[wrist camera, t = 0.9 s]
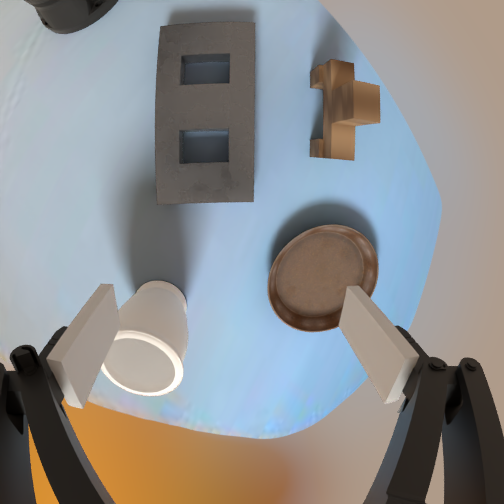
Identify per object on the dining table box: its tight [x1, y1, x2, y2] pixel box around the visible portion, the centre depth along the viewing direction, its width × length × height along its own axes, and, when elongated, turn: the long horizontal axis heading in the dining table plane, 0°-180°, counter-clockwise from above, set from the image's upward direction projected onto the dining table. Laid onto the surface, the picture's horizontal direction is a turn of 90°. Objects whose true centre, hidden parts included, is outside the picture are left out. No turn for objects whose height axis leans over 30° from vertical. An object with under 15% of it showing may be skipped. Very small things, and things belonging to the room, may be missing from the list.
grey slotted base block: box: [155, 22, 255, 205], centre depth 32 cm, size 24×12×4 cm, turn 0°
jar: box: [101, 281, 188, 396], centre depth 36 cm, size 11×10×15 cm
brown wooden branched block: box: [310, 59, 380, 161], centre depth 29 cm, size 12×4×13 cm, turn 0°
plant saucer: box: [267, 224, 379, 332], centre depth 42 cm, size 18×18×3 cm
